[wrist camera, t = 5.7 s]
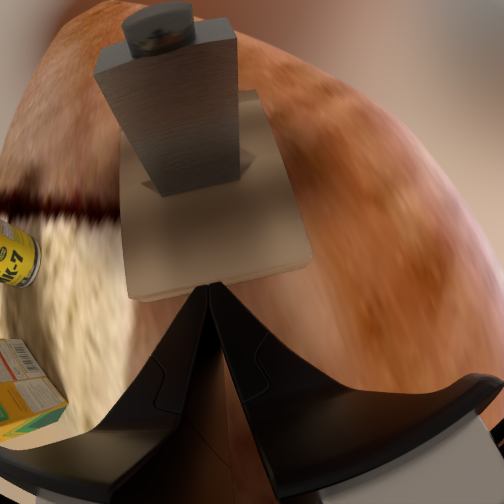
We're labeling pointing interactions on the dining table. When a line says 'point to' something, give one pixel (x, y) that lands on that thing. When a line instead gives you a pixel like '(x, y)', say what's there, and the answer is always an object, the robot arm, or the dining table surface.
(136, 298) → the board
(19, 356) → the crayon box
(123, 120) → the grey piece
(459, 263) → the dining table surface
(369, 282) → the dining table surface
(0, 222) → the supplement bottle
